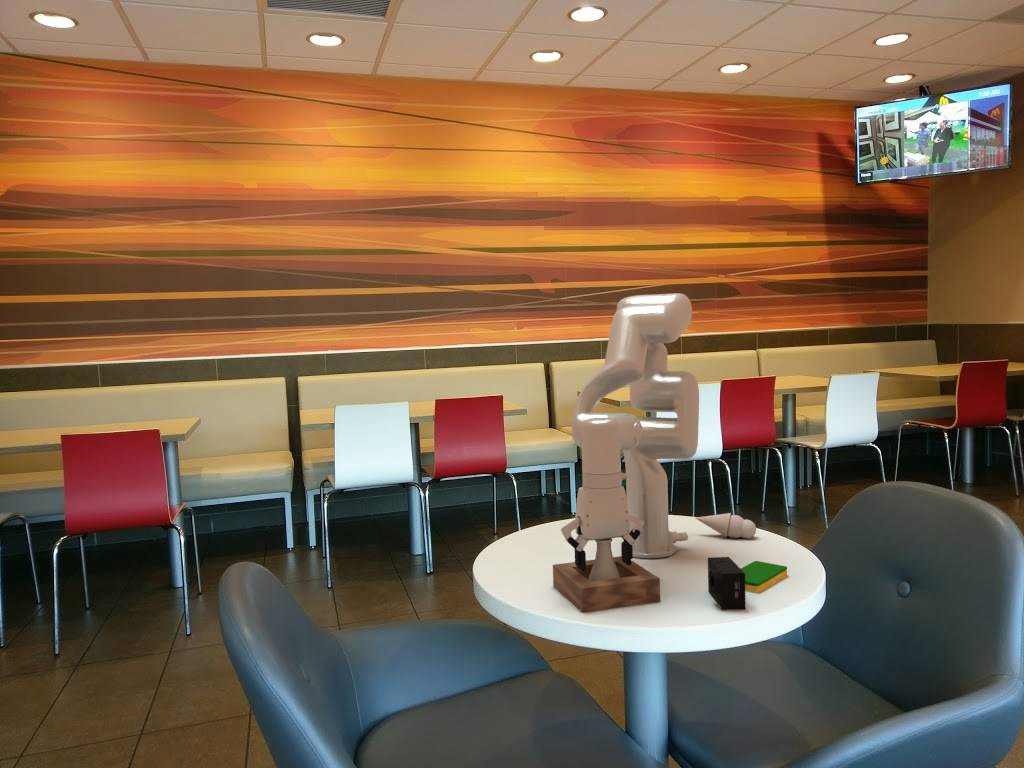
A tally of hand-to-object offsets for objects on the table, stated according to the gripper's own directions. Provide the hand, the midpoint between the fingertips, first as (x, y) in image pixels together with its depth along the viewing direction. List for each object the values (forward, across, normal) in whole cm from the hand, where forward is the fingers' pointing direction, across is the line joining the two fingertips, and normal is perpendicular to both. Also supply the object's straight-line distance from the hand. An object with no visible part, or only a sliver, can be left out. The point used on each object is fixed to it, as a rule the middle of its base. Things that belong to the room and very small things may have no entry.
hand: (604, 566), depth 151 cm
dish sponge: (+6, -32, +4) cm, 33 cm away
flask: (+5, 0, 0) cm, 5 cm away
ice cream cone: (+6, -44, -27) cm, 52 cm away
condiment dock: (+6, 0, 0) cm, 6 cm away
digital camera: (+6, -19, +12) cm, 23 cm away
